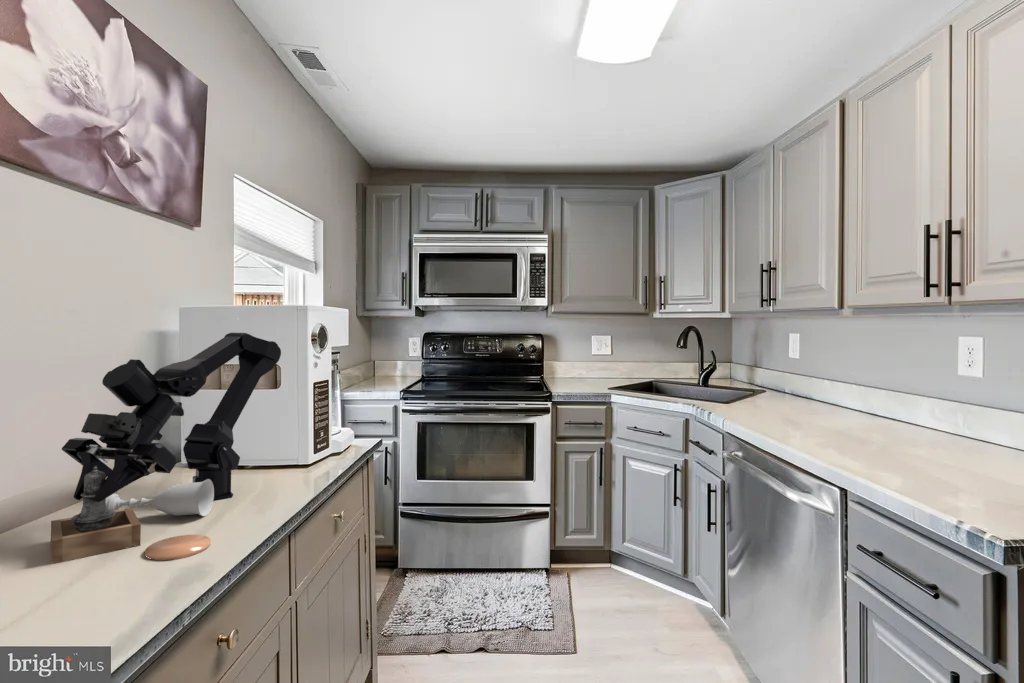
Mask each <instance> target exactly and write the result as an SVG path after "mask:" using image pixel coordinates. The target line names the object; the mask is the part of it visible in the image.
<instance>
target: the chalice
mask: <svg viewBox="0 0 1024 683" xmlns="http://www.w3.org/2000/svg"><path fill="white" fill-rule="evenodd" d="M105 504H106V507H107V509H108V510H120V509H122V507H129V508H132V509H133V508H134V507H135V506H140V507H144V506H146V505H152V507H153V508H154V509H155V510H158V511H161V512H162V513H165V514H168V515H173V516H187V515H188V516H189V515H199V516H202V517H206V516H207V515H208V514H209V513H210V512H211V509H212V507H213V504H214V486H213V483H212V481H211V480H210V479H207V480H205V481H203V482H195V483H193V482H182V483H178V484H175V485H173V486H170V487H168V488H166V489H164V490H162V491H160V492H158V493H156V494H155V495H154V497H153V498H145V497H142V498H140V499H135V498H134V497H133V498H130V499H129V500H123V499H122V497H121V496H120V495H118V494H117V493H113V494H112V495H110V496H109V497H107V498H106V501H105Z"/></svg>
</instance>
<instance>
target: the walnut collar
mask: <svg viewBox="0 0 1024 683" xmlns="http://www.w3.org/2000/svg"><path fill="white" fill-rule="evenodd" d="M114 511H115V512H116V514H115V515H114V516H113V521H112V523H111V524H110V525H109V526H108V527H107V528H106V529H101V530H95V531H90V532H85V533H81V532H79V531H77V530H76V529H75V528H74V526H73V522H72V521H71V518H72V517H67V518H61V519H55V520H50V557H51V558H50V559H51V564H52V565H54V564H57V563H62V562H68V561H73V560H76V559H81V558H86V556H87V557H91V556H90V555H92V556H95V555H94V554H96V555H100V554H99V553H101V554H105V553H104V552H106V553H109V552H108V551H111V552H114V551H113V550H116V551H118V550H117V549H120V550H123V549H122V548H125V549H127V548H126V547H130V548H132V547H131V546H135V545H139V546H141V534H142V532H141V531H142V527H141V526H142V525H141V522H140V520H139V518H138V517H137V515H136V512H135V511H134V509H133V507H132V508H131V507H126V508H120V510H114ZM135 547H136V546H135ZM72 559H73V560H72Z"/></svg>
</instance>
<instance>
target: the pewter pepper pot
mask: <svg viewBox="0 0 1024 683" xmlns="http://www.w3.org/2000/svg"><path fill="white" fill-rule="evenodd" d="M93 469H94V470H93V471H91V472H89V473H87V474H86V475H85V477H84V492H83V493H82V494H81V496H82V497H83V498H82V506H81V507H82V508H81V509H80V512H79V513H78V514H75V515H73V516H72V517H70V518H71V521H72V522H73V526H74V528H75V529H76V530H77V531H79V532H81V533H85V532H90V531H95V530H101V529H106V528H107V527H108V526H109V525H110V524H111V523H112V521H113V516H114V515H115V514H116V512H115V511H114V510H108V509H107V507H106V504H105V501H106V498H105V499H104V500H102V501H100V502H97V501H95V500H94V497H95V495H96V493H97V492H98V490H99V488H100V487H101V486H102V484H103V483H104V481H105V480H106V478H107V477H106V475H105V473H104V472H102V471H99V470H97V466H95V467H94V468H93Z"/></svg>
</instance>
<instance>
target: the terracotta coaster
mask: <svg viewBox="0 0 1024 683" xmlns="http://www.w3.org/2000/svg"><path fill="white" fill-rule="evenodd" d="M210 546H211V538H210V537H209V536H207V535H203V534H183V535H175V536H173V537H171V536H170V537H169V538H168V537H167V538H164V539H161V540H158V541H155V542H153V543H152V544H150V545H148V546H147V547H146V548H145V550H144V551H145V552H144V556H145V555H146V556H147V557H149V558H151V559H150V560H152V559H156V560H155V561H173V560H179V559H183V558H189V557H192V556H196V555H197V554H200V553H202V552H203V551H206V550H207V549H208V548H209V547H210ZM146 556H145V557H146ZM147 557H146V558H147ZM149 558H148V559H149Z"/></svg>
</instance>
